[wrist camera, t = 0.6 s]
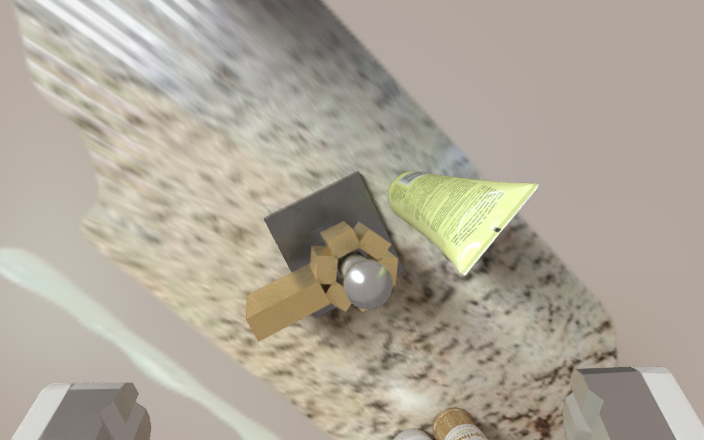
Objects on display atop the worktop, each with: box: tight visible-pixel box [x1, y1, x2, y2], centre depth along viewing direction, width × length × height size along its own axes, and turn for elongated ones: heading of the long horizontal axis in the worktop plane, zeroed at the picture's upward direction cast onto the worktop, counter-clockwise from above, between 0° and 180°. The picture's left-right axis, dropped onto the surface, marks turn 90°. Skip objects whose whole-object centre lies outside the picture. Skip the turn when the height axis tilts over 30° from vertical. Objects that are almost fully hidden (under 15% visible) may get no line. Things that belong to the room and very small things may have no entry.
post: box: [264, 172, 405, 318], centre depth 43 cm, size 11×10×15 cm
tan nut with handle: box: [246, 221, 398, 342], centre depth 42 cm, size 6×12×6 cm, turn 116°
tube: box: [388, 171, 540, 276], centre depth 42 cm, size 6×5×20 cm
